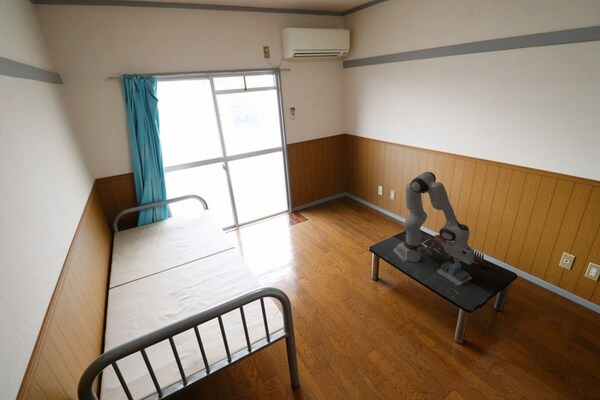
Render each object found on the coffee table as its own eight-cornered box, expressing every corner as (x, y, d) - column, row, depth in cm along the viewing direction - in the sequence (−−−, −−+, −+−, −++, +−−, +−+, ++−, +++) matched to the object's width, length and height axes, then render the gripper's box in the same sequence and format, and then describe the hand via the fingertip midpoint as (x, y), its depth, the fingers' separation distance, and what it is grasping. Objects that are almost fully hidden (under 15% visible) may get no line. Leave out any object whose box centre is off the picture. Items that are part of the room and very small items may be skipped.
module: (447, 273, 205) (449, 265, 202) (455, 269, 209) (456, 261, 206) (452, 276, 202) (454, 268, 199) (460, 272, 205) (461, 264, 202)
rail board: (436, 271, 211) (437, 265, 208) (449, 265, 216) (450, 259, 214) (458, 285, 196) (460, 279, 194) (471, 278, 202) (473, 272, 199)
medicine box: (453, 251, 232) (454, 243, 229) (444, 252, 231) (445, 244, 228) (441, 241, 246) (442, 233, 242) (433, 242, 245) (434, 235, 241)
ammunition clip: (466, 260, 220) (469, 248, 215) (468, 260, 220) (471, 247, 215) (480, 268, 211) (483, 255, 206) (482, 267, 212) (485, 254, 207)
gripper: (443, 241, 203) (440, 256, 208) (470, 255, 186) (467, 271, 192) (449, 238, 205) (446, 254, 211) (476, 251, 188) (473, 268, 194)
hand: (456, 262), depth 201 cm, fingers closed
